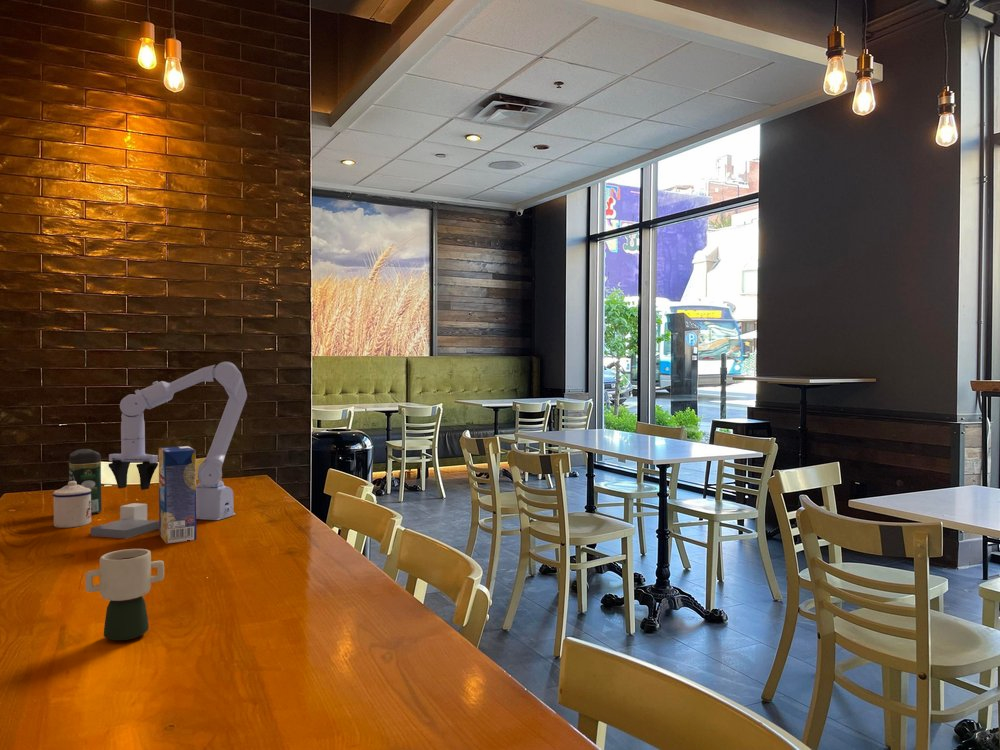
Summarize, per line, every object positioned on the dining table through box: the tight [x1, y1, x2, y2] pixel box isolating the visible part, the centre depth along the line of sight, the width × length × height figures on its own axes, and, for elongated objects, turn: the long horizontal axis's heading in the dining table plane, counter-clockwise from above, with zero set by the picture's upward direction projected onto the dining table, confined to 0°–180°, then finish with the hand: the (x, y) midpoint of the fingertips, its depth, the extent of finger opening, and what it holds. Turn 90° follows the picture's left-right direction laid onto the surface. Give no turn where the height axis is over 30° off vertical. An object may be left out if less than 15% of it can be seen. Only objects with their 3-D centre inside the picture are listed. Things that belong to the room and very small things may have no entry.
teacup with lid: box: [52, 480, 92, 529], centre depth 190 cm, size 12×9×12 cm
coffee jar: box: [68, 448, 103, 516], centre depth 204 cm, size 10×8×19 cm
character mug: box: [85, 548, 165, 641], centre depth 110 cm, size 11×7×13 cm, turn 125°
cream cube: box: [119, 502, 148, 520], centre depth 190 cm, size 5×5×5 cm
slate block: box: [90, 519, 159, 539], centre depth 180 cm, size 11×11×2 cm
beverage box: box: [158, 445, 197, 544], centre depth 174 cm, size 7×11×22 cm, turn 33°
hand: (133, 488), depth 190 cm, fingers open, 7 cm apart
